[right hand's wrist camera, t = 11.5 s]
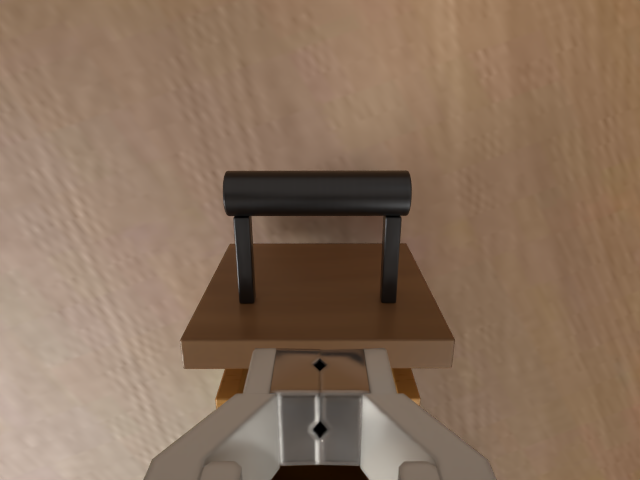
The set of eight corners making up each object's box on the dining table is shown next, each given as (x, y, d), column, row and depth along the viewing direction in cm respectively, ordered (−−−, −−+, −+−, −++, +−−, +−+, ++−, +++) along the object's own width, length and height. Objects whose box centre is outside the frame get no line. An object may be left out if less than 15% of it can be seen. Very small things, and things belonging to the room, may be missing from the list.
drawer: (222, 144, 22) (160, 191, 14) (413, 144, 22) (473, 190, 14) (250, 515, 31) (223, 687, 22) (387, 514, 31) (414, 687, 22)
